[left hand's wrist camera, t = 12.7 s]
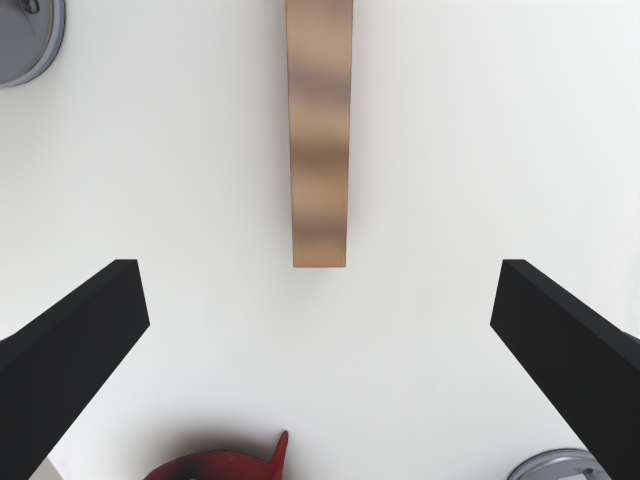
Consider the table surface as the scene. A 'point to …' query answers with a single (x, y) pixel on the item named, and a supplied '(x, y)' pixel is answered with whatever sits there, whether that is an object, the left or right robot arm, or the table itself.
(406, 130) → the table surface
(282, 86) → the table surface
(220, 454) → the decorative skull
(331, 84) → the post
